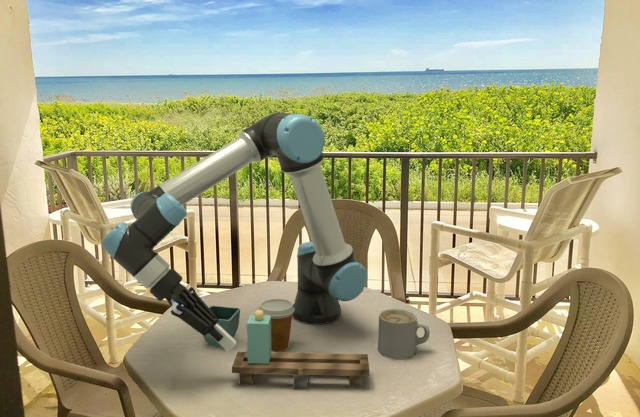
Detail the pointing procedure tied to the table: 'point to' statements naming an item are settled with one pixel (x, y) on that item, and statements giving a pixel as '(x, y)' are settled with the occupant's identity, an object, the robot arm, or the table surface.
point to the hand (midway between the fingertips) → (232, 346)
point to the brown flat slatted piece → (304, 367)
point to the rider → (259, 338)
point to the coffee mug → (399, 333)
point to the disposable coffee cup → (279, 322)
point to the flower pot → (224, 322)
